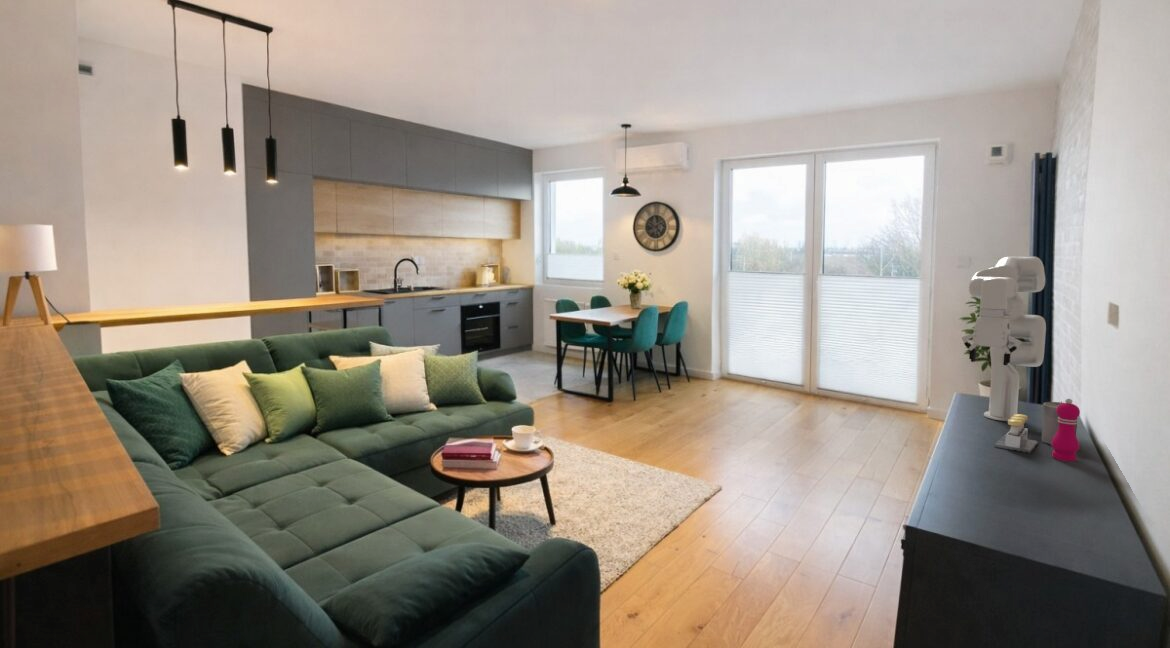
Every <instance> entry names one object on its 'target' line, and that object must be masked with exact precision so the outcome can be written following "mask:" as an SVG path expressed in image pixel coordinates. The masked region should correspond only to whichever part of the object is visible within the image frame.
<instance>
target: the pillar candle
mask: <svg viewBox="0 0 1170 648" xmlns="http://www.w3.org/2000/svg"><path fill="white" fill-rule="evenodd" d="M1062 403H1063V402H1062V401H1059V402H1058V401H1047V402H1043V406H1042V407H1043V411H1042V421H1041V422H1042V423H1041V442H1043V443H1046V444H1048V445H1051V443H1052V439H1053V437H1054V436H1055V434H1056V433H1057V431H1058V428H1059V422H1058V421H1057V420H1058V417H1059V415H1058V414H1057V412H1056V409H1057V407H1058V406H1059V405H1060V404H1062ZM1076 419H1077V420H1078V417H1077V418H1076ZM1077 426H1078V423H1077V424H1075V435H1076V436H1077V430H1078V429H1077V428H1078V427H1077Z"/></svg>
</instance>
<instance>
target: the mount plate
mask: <svg viewBox="0 0 1170 648" xmlns="http://www.w3.org/2000/svg"><path fill="white" fill-rule="evenodd" d="M1028 430H1029V428H1025V427H1024V428H1023V430H1021V433H1018V436H1014V435H1010V433H1011V429H1010V430H1008V432H1007V433H1005V435H1002V436H1001V437H1000V438H999V439H998V440H997V442H995V443H994V447H995V448H996V449H997V448H999V449H1004V450H1008V449H1009V450H1010V451H1014V450H1017V451H1016V452H1019V451H1023V452H1022V453H1025V452H1028V453H1027V454H1031V452H1032V451H1033V450H1034V449H1035V448H1036V445H1037V444H1038V441H1037V440H1034V439H1033V440H1032V439H1028V434H1029V433H1028ZM1009 450H1008V451H1009Z"/></svg>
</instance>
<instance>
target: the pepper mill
mask: <svg viewBox="0 0 1170 648" xmlns="http://www.w3.org/2000/svg"><path fill="white" fill-rule="evenodd" d="M1080 411H1081V410H1080V408H1079V406H1078V405H1076V404H1073V400H1072V398H1066V399H1065V401H1064V402H1062V404H1060V405H1059V406H1058V407H1057V409H1056V412H1057V414H1058V415H1059V417H1058V420H1057V421H1058V422H1059V428H1058V431H1057V433H1056V434H1055V436H1054V437H1053V439H1052V443H1051V444H1050V445H1051V448H1052V449H1053V450H1052V453H1051V455H1052V458H1054V459H1056V460H1058V461H1064V462H1077V459H1078V458H1077V454H1076V453H1077V452H1079V450H1080V441H1079V440H1078V438H1077V434H1076V435H1075V424H1077V425H1078V417H1080V415H1081V412H1080ZM1076 418H1077V419H1076Z"/></svg>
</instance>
